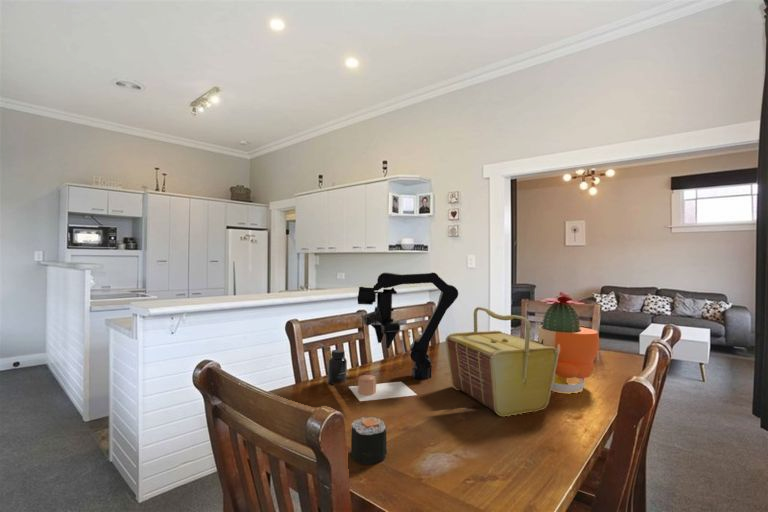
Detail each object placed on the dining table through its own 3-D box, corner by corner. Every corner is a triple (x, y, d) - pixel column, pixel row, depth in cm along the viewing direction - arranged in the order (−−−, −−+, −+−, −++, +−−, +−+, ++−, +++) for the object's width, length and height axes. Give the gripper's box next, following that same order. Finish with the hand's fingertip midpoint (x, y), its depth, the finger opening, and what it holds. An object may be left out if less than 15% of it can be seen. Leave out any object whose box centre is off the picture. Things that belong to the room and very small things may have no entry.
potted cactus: (532, 389, 142) (534, 294, 142) (538, 373, 162) (541, 290, 162) (599, 400, 132) (601, 298, 132) (597, 382, 152) (599, 293, 152)
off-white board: (401, 385, 142) (401, 381, 142) (417, 399, 129) (417, 394, 129) (348, 390, 135) (348, 386, 135) (359, 405, 122) (359, 401, 122)
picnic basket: (442, 389, 139) (444, 306, 139) (500, 382, 149) (502, 305, 149) (492, 423, 112) (494, 320, 112) (560, 412, 121) (563, 317, 121)
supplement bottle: (342, 387, 139) (343, 353, 139) (325, 385, 140) (325, 352, 140) (348, 381, 146) (349, 349, 146) (331, 379, 147) (332, 348, 147)
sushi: (375, 443, 98) (376, 412, 98) (391, 459, 91) (392, 425, 91) (345, 450, 94) (346, 418, 94) (360, 467, 87) (361, 432, 87)
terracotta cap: (372, 388, 134) (372, 374, 134) (377, 394, 129) (377, 379, 129) (356, 390, 132) (356, 375, 132) (361, 396, 127) (361, 380, 127)
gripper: (357, 302, 155) (356, 341, 155) (372, 309, 138) (371, 352, 138) (383, 302, 159) (382, 339, 159) (401, 308, 141) (399, 350, 142)
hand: (383, 345), depth 149 cm, fingers open, 9 cm apart
